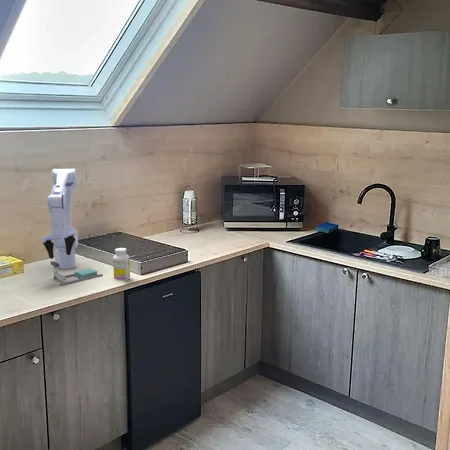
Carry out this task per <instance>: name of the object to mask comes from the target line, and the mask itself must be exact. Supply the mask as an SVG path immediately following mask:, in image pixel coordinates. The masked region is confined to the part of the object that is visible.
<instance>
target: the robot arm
mask: <svg viewBox="0 0 450 450" xmlns="http://www.w3.org/2000/svg"><path fill="white" fill-rule="evenodd" d="M77 175H78V174H77V170H76V168H53V169H52V170H51V178H52V179H51V180H52V183H53V186H52V188H51V192H50V195H48V196H47V201H46V202H47V208H48V213H49V221H50V233H51V234H48V235H45V236H40V242H41V243H42V245H43V246H44V248H45V250H46V252H47V254H48V258H49V259H51V260H52V259H54V262H56V263H59V267H58V269H60V270H69V269H74V268H76V266H77V265H76V263H77V262H76V249H77V248H78V245H79V236H78V230H76V228H74V227H72V193H73V190H75V189H76V188H77V181H78V179H77ZM54 248H55V250H54ZM54 251H55V252H54Z"/></svg>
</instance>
